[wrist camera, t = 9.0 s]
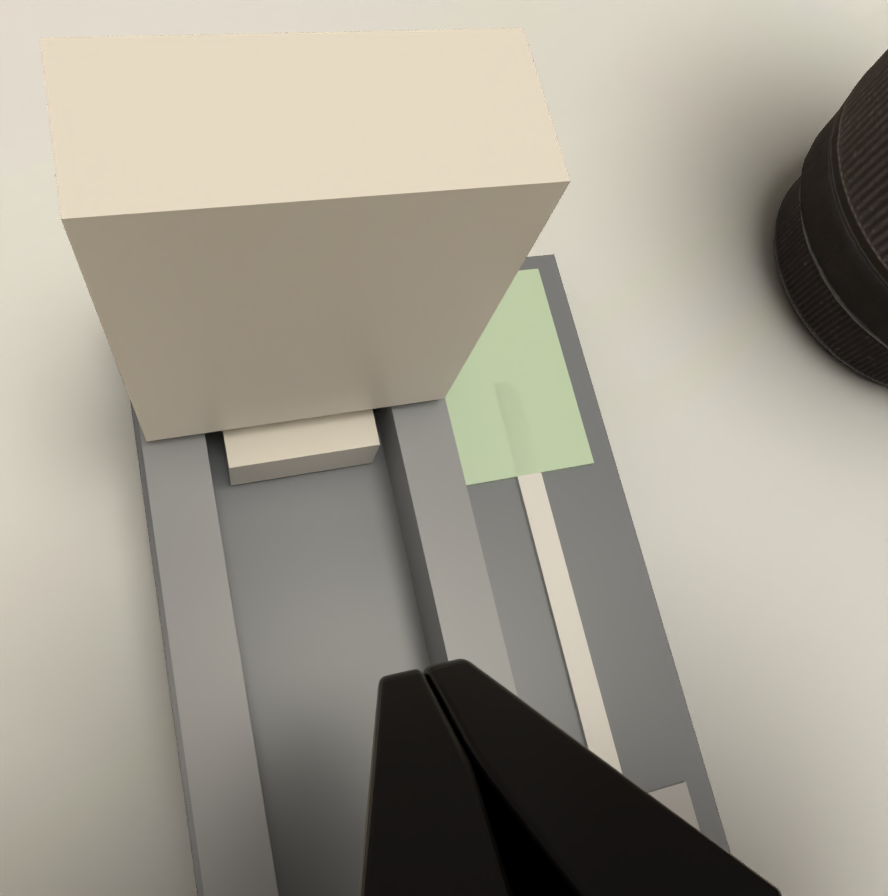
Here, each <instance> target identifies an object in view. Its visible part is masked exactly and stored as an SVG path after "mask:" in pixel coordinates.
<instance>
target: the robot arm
mask: <svg viewBox="0 0 888 896" xmlns="http://www.w3.org/2000/svg"><path fill="white" fill-rule="evenodd" d="M358 896H782V894H781V892H780V890H779V889H777V888H776V887H775V886H773V885H772V884H771V883H769V882H768V881H767V880H765V879H764V878H763V877H761V876H760V875H758V874H757V873H756V872H754V871H753V870H752V869H750V868H749V867H748V866H746V865H745V864H744V863H742V862H741V861H740V860H738V859H737V858H735V857H734V856H733V855H731V854H730V853H729V852H727V851H726V850H725V849H723V848H722V847H721V846H719V845H718V844H716V843H715V842H714V841H712V840H711V839H710V838H708V837H707V836H706V835H704V834H703V833H702V832H700V831H699V830H698V829H696V828H695V827H693V826H692V825H691V824H689V823H688V822H687V821H685V820H684V819H683V818H681V817H680V816H679V815H677V814H676V813H675V812H673V811H672V810H670V809H669V808H668V807H666V806H665V805H664V804H662V803H661V802H660V801H658V800H657V799H656V798H654V797H653V796H652V795H650V794H649V793H647V792H646V791H645V790H643V789H642V788H641V787H639V786H638V785H637V784H635V783H634V782H633V781H631V780H630V779H628V778H627V777H626V776H624V775H623V774H622V773H620V772H619V771H618V770H616V769H615V768H614V767H612V766H611V765H610V764H608V763H607V762H605V761H604V760H603V759H601V758H600V757H599V756H597V755H596V754H595V753H593V752H592V751H591V750H589V749H588V748H587V747H585V746H584V745H582V744H581V743H580V742H578V741H577V740H576V739H574V738H573V737H572V736H570V735H569V734H568V733H566V732H565V731H563V730H562V729H561V728H559V727H558V726H557V725H555V724H554V723H553V722H551V721H550V720H549V719H547V718H546V717H545V716H543V715H542V714H540V713H539V712H538V711H536V710H535V709H534V708H532V707H531V706H530V705H528V704H527V703H526V702H524V701H523V700H522V699H520V698H519V697H517V696H516V695H515V694H513V693H512V692H511V691H509V690H508V689H507V688H505V687H504V686H503V685H501V684H500V683H498V682H497V681H496V680H494V679H493V678H492V677H490V676H489V675H488V674H486V673H485V672H484V671H482V670H481V669H480V668H478V667H477V666H475V665H474V664H473V663H471V662H470V661H468V660H465V659H455V660H451V661H447V662H442V663H438V664H434V665H430V666H428V667H427V668H426V669H425V670H424V671H423V672H422V671H421V670H418V669H412V670H408V671H404V672H399V673H395V674H391V675H386V676H384V677H382V678H381V679H380V681H379V684H378V692H377V703H376V714H375V724H374V735H373V746H372V756H371V767H370V778H369V788H368V799H367V810H366V820H365V831H364V842H363V852H362V863H361V874H360V885H359V895H358Z"/></svg>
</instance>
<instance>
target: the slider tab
mask: <svg viewBox="0 0 888 896" xmlns="http://www.w3.org/2000/svg"><path fill="white" fill-rule="evenodd" d="M39 39H40V47H41V55H42V64H43V72H44V80H45V89H46V97H47V105H48V114H49V122H50V130H51V139H52V147H53V155H54V164H55V172H56V180H57V189H58V197H59V205H60V214H61V220H62V223H63V225H64V228H65V230H66V233H67V236H68V238H69V241H70V243H71V246H72V249H73V251H74V254H75V256H76V259H77V262H78V264H79V267H80V269H81V272H82V275H83V277H84V280H85V282H86V285H87V288H88V290H89V293H90V296H91V298H92V301H93V303H94V306H95V309H96V311H97V314H98V316H99V319H100V322H101V324H102V327H103V329H104V332H105V335H106V337H107V340H108V342H109V345H110V348H111V350H112V353H113V355H114V358H115V361H116V363H117V366H118V369H119V371H120V374H121V376H122V379H123V382H124V384H125V387H126V389H127V392H128V395H129V397H130V400H131V402H132V405H133V408H134V410H135V413H136V415H137V418H138V421H139V423H140V426H141V428H142V431H143V434H144V436H145V439H146V441H154V440H161V439H168V438H175V437H181V436H188V435H195V434H202V433H209V432H216V431H222V435H223V441H224V447H225V453H226V459H227V465H228V471H229V477H230V483H231V486H232V485H238V484H244V483H250V482H257V481H263V480H269V479H275V478H281V477H287V476H294V475H300V474H306V473H312V472H318V471H325V470H331V469H337V468H343V467H349V466H355V465H362V464H368V463H372V462H373V459H374V457H375V455H376V453H377V450H378V448H379V446H380V442H379V437H378V433H377V428H376V424H375V419H374V414H373V410H372V409H375V408H382V407H389V406H396V405H403V404H410V403H417V402H424V401H431V400H438V399H445V397H446V395H447V394H448V392H449V390H450V388H451V387H452V385H453V383H454V381H455V380H456V378H457V376H458V375H459V373H460V371H461V369H462V368H463V366H464V364H465V362H466V361H467V359H468V357H469V355H470V354H471V352H472V350H473V349H474V347H475V345H476V343H477V342H478V340H479V338H480V336H481V335H482V333H483V331H484V330H485V328H486V326H487V324H488V323H489V321H490V319H491V317H492V316H493V314H494V312H495V311H496V309H497V307H498V305H499V304H500V302H501V300H502V298H503V297H504V295H505V293H506V292H507V290H508V288H509V286H510V285H511V283H512V281H513V279H514V278H515V276H516V274H517V272H518V271H519V269H520V267H521V266H522V264H523V262H524V260H525V259H526V257H527V255H528V253H529V252H530V250H531V248H532V247H533V245H534V243H535V241H536V240H537V238H538V236H539V234H540V233H541V231H542V229H543V228H544V226H545V224H546V222H547V221H548V219H549V217H550V215H551V214H552V212H553V210H554V209H555V207H556V205H557V203H558V202H559V200H560V198H561V196H562V195H563V193H564V191H565V189H566V188H567V186H568V184H569V183H570V178H569V175H568V172H567V169H566V165H565V162H564V159H563V156H562V152H561V149H560V146H559V143H558V139H557V136H556V133H555V130H554V126H553V123H552V120H551V117H550V113H549V110H548V107H547V104H546V101H545V97H544V94H543V91H542V88H541V84H540V81H539V78H538V75H537V71H536V68H535V65H534V62H533V58H532V55H531V52H530V49H529V45H528V42H527V39H526V36H525V33H524V29H523V28H501V29H452V30H403V31H355V32H306V33H258V34H209V35H160V36H112V37H63V38H39Z"/></svg>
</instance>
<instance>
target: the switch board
mask: <svg viewBox="0 0 888 896" xmlns="http://www.w3.org/2000/svg"><path fill="white" fill-rule="evenodd" d="M130 401H131V400H130ZM131 409H132V416H133V423H134V431H135V438H136V445H137V453H138V460H139V467H140V475H141V482H142V489H143V497H144V504H145V511H146V519H147V526H148V534H149V541H150V548H151V556H152V563H153V570H154V578H155V585H156V592H157V600H158V607H159V614H160V622H161V629H162V636H163V644H164V651H165V658H166V666H167V673H168V680H169V688H170V695H171V702H172V710H173V717H174V724H175V732H176V739H177V746H178V754H179V761H180V768H181V776H182V783H183V790H184V798H185V805H186V812H187V820H188V827H189V835H190V842H191V849H192V857H193V864H194V871H195V879H196V886H197V893H198V896H358V895H359V885H360V874H361V863H362V852H363V842H364V831H365V820H366V810H367V799H368V788H369V778H370V767H371V756H372V746H373V735H374V724H375V714H376V703H377V692H378V684H379V681H380V679H381V678H382V677H384V676H386V675H391V674H395V673H399V672H404V671H408V670H412V669H418V670H421V671H422V672H423V671H424V670H425V669H426V668H427V667H428V666H430V665H434V664H438V663H442V662H447V661H451V660H455V659H465V660H468V661H470V662H471V663H473V664H474V665H475V666H477V667H478V668H480V669H481V670H482V671H484V672H485V673H486V674H488V675H489V676H490V677H492V678H493V679H494V680H496V681H497V682H498V683H500V684H501V685H503V686H504V687H505V688H507V689H508V690H509V691H511V692H512V693H513V694H515V695H516V696H517V697H519V698H520V699H522V700H523V701H524V702H526V703H527V704H528V705H530V706H531V707H532V708H534V709H535V710H536V711H538V712H539V713H540V714H542V715H543V716H545V717H546V718H547V719H549V720H550V721H551V722H553V723H554V724H555V725H557V726H558V727H559V728H561V729H562V730H563V731H565V732H566V733H568V734H569V735H570V736H572V737H573V738H574V739H576V740H577V741H578V742H580V743H581V744H582V745H584V746H585V747H587V748H588V749H589V750H591V751H592V752H593V753H595V754H596V755H597V756H599V757H600V758H601V759H603V760H604V761H605V762H607V763H608V764H610V765H611V766H612V767H614V768H615V769H616V770H618V771H619V772H620V773H622V774H623V775H624V776H626V777H627V778H628V779H630V780H631V781H633V782H634V783H635V784H637V785H638V786H639V787H641V788H642V789H643V790H645V791H646V792H647V793H649V794H650V795H652V796H653V797H654V798H656V799H657V800H658V801H660V802H661V803H662V804H664V805H665V806H666V807H668V808H669V809H670V810H672V811H673V812H675V813H676V814H677V815H679V816H680V817H681V818H683V819H684V820H685V821H687V822H688V823H689V824H691V825H692V826H693V827H695V828H696V829H698V830H699V831H700V832H702V833H703V834H704V835H706V836H707V837H708V838H710V839H711V840H712V841H714V842H715V843H716V844H718V845H719V846H721V847H722V848H723V849H725V850H726V851H727V852H729V853H730V850H729V847H728V843H727V840H726V837H725V833H724V830H723V826H722V823H721V820H720V816H719V813H718V809H717V806H716V803H715V799H714V796H713V792H712V789H711V786H710V782H709V779H708V775H707V772H706V769H705V765H704V762H703V759H702V755H701V752H700V748H699V745H698V742H697V738H696V735H695V731H694V728H693V725H692V721H691V718H690V714H689V711H688V708H687V704H686V701H685V697H684V694H683V691H682V687H681V684H680V681H679V677H678V674H677V670H676V667H675V664H674V660H673V657H672V653H671V650H670V647H669V643H668V640H667V636H666V633H665V630H664V626H663V623H662V619H661V616H660V613H659V609H658V606H657V603H656V599H655V596H654V592H653V589H652V586H651V582H650V579H649V575H648V572H647V569H646V565H645V562H644V558H643V555H642V552H641V548H640V545H639V541H638V538H637V535H636V531H635V528H634V524H633V521H632V518H631V514H630V511H629V508H628V504H627V501H626V497H625V494H624V491H623V487H622V484H621V480H620V477H619V474H618V470H617V467H616V463H615V460H614V457H613V453H612V450H611V446H610V443H609V440H608V436H607V433H606V430H605V426H604V423H603V419H602V416H601V413H600V409H599V406H598V402H597V399H596V396H595V392H594V389H593V385H592V382H591V379H590V375H589V372H588V368H587V365H586V362H585V358H584V355H583V352H582V348H581V345H580V341H579V338H578V335H577V331H576V328H575V324H574V321H573V318H572V314H571V311H570V307H569V304H568V301H567V297H566V294H565V290H564V287H563V284H562V280H561V277H560V273H559V270H558V267H557V263H556V260H555V257H554V254H553V255H543V256H533V257H526V259H525V260H524V262H523V264H522V266H521V267H520V269H519V271H518V272H517V274H516V276H515V278H514V279H513V281H512V283H511V285H510V286H509V288H508V290H507V292H506V293H505V295H504V297H503V298H502V300H501V302H500V304H499V305H498V307H497V309H496V311H495V312H494V314H493V316H492V317H491V319H490V321H489V323H488V324H487V326H486V328H485V330H484V331H483V333H482V335H481V336H480V338H479V340H478V342H477V343H476V345H475V347H474V349H473V350H472V352H471V354H470V355H469V357H468V359H467V361H466V362H465V364H464V366H463V368H462V369H461V371H460V373H459V375H458V376H457V378H456V380H455V381H454V383H453V385H452V387H451V388H450V390H449V392H448V394H447V395H446V397H445V399H438V400H431V401H424V402H417V403H410V404H403V405H396V406H389V407H382V408H375V409H372V410H373V414H374V419H375V424H376V428H377V433H378V437H379V442H380V446H379V448H378V450H377V453H376V455H375V457H374V459H373V462H372V463H368V464H362V465H355V466H349V467H343V468H337V469H331V470H325V471H318V472H312V473H306V474H300V475H294V476H287V477H281V478H275V479H269V480H263V481H257V482H250V483H244V484H238V485H232V486H231V483H230V477H229V471H228V465H227V459H226V453H225V447H224V441H223V435H222V431H216V432H209V433H202V434H195V435H188V436H181V437H175V438H168V439H161V440H154V441H146V439H145V436H144V434H143V431H142V428H141V426H140V423H139V421H138V418H137V415H136V413H135V410H134V408H133V405H132V402H131ZM730 854H731V853H730Z"/></svg>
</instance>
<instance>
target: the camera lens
mask: <svg viewBox="0 0 888 896" xmlns="http://www.w3.org/2000/svg"><path fill="white" fill-rule="evenodd" d="M774 249H775V255H776V261H777V267H778V273H779V276H780V278H781V280H782V283H783V285H784V288H785V290H786V293H787V295H788V298H789V300H790V302H791V304H792V305H793V307H794V309H795V310H796V312H797V314H798V315H799V317H800V319H801V320H802V322H803V324H804V325H805V326H806V327H807V328H808V330H809V331H810V332H811V333H812V335H813V336H814V337H815V338H816V339H817V340H818V341H819V342H820V343H821V344H822V345H823V346H824V347H825V348H826V349H827V350H828V351H829V352H830V353H831V354H832V355H833V356H834V357H836V358H837V359H838V360H840V361H841V362H843V363H844V364H845V365H847V366H848V367H850V368H851V369H852V370H854V371H856V372H858V373H860V374H861V375H863V376H865V377H867V378H869V379H871V380H873V381H875V382H878V383H880V384H883V385H886V386H888V50H887V51H886V52H885V53H884V54H883V55H882V56H881V57H880V58H879V59H878V60H877V62H876V63H875V64H874V65H873V66H872V67H871V68H870V69H869V70H868V71H867V72H866V73H865V75H864V76H863V77H862V78H861V80H860V81H859V82H858V83H857V85H856V86H855V87H854V89H853V90H852V92H851V93H850V95H849V96H848V98H847V99H846V101H845V102H844V103H843V105H842V106H841V108H840V109H839V111H838V112H837V113H836V114H835V115H834V116H833V118H832V119H831V120H830V121H829V122H828V123H827V125H826V126H825V127H824V128H823V129H822V131H821V132H820V133H819V135H818V136H817V137H816V139H815V141H814V143H813V144H812V146H811V148H810V150H809V152H808V154H807V156H806V158H805V160H804V164H803V168H802V174H801V176H800V178H799V179H798V180H797V181H796V182H795V183H794V184H793V186H792V187H791V188H790V190H789V191H788V192H787V194H786V196H785V198H784V200H783V202H782V204H781V207H780V209H779V212H778V216H777V220H776V228H775V237H774Z"/></svg>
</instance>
